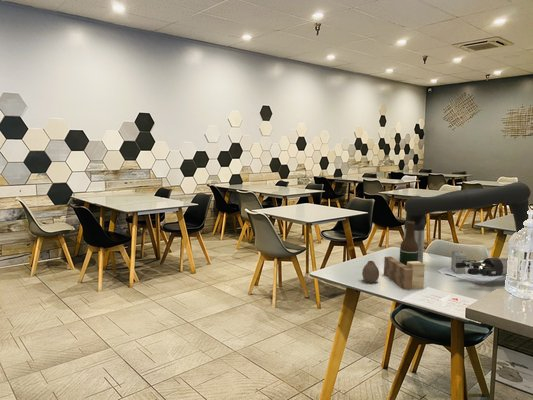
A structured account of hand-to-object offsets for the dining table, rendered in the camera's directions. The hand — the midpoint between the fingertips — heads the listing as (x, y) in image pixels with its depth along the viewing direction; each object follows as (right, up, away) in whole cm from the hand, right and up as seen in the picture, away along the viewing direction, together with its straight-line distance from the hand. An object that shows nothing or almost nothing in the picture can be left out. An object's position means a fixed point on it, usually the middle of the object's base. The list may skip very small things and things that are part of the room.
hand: (462, 268), depth 168 cm
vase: (-37, -7, +4) cm, 38 cm away
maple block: (-20, -7, -2) cm, 22 cm away
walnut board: (-25, -6, +5) cm, 27 cm away
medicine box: (+7, -5, +19) cm, 21 cm away
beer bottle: (-17, -5, +15) cm, 23 cm away
